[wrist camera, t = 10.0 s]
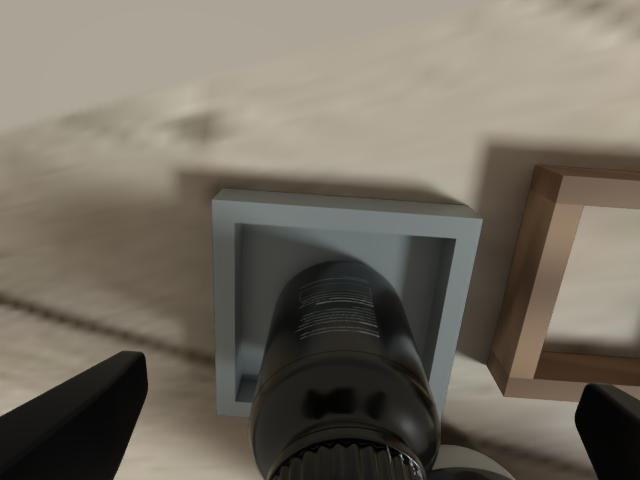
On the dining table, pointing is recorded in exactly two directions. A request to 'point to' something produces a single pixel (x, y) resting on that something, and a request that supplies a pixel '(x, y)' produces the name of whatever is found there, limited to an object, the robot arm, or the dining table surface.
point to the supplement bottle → (342, 383)
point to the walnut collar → (555, 288)
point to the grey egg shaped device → (466, 465)
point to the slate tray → (335, 245)
